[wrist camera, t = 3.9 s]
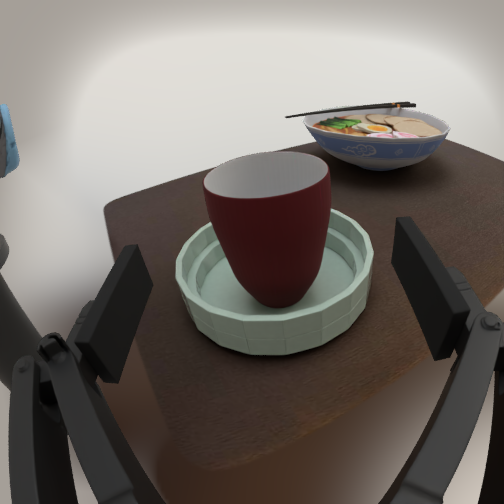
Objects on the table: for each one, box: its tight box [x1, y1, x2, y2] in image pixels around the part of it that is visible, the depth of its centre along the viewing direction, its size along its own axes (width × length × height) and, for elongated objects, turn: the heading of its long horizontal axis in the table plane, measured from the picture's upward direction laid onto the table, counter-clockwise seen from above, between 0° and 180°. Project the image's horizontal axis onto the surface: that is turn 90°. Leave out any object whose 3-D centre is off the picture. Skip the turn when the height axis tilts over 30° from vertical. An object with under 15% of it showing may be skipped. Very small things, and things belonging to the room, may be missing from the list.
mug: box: [203, 151, 331, 308], centre depth 24 cm, size 10×8×10 cm
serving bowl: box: [176, 209, 374, 355], centre depth 26 cm, size 15×15×4 cm
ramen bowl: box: [286, 102, 450, 171], centre depth 45 cm, size 25×23×8 cm
